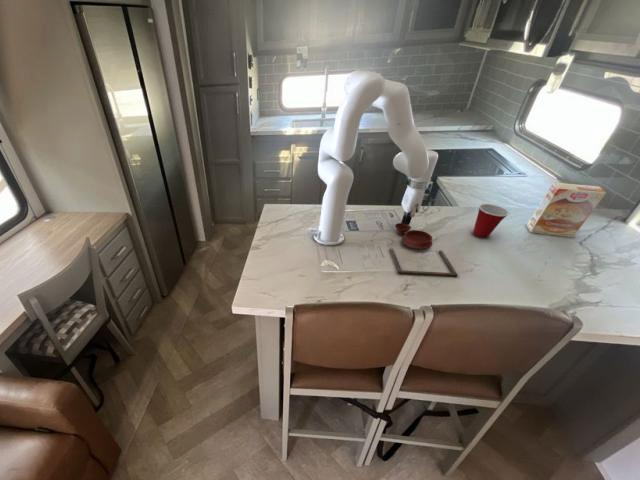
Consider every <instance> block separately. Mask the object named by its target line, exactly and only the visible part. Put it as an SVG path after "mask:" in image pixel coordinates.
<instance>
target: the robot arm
mask: <svg viewBox="0 0 640 480" xmlns="http://www.w3.org/2000/svg"><path fill="white" fill-rule="evenodd" d="M343 89H344V93H345V95H346V96H345V97H344V98H343V99H342V101H341V103H340V104H339V106H338V108H337V111H336V113H335V118H334V125H333V126H332V127H330V128H328V129H327V130H326V131H325V132H324V133H323V135H322V137H321V140H320V143H319V151H318V152H319V154H318V161H317V175H318V177H319V178H320V180H322V182H323V183H324V184H325V185H326V189H325V192H324V193H323V196H322V202H321V210H320V218H319V223H318V225H317V227H315V228H313V227H308V228H307V233H308V234H310V236H313V239H314V240H315V241H316V242H317V243H318V244H320V245H324V246H336V245H337V246H338V245H340V244H342V243H343V242H344V238H345V237H344V234H343V233H342V229H343V225H344V224H343V223H344V219H345V214H346V208H347V204H348V203H347V202H348V199H349V195H350V191H351V189H352V186H353V183H354V177H355V176H354V172H353V170H352V168H350V167H349V166H348V165H347V164H345V163H344V162H347V161H349V160H350V159H352V157H353V156H354V154H355V152H356V148H357V141H358V136H359V130H360V125H361V120H362V117H363V115H364V113H365V112H366V111H367V109H368V108H369V107H370V106H371V107H375V108H377V109H381V110H382V113H383V116H384V121H385V124H386V130H387V134H388V137H389V138H390V139H391V141H392V143H393V144H394V145H396V146H397V147H398V148H399V149H400V152H398V153H397V154H396V155H395V156H394V157H393V160H392V166H393V168H394V169H395V170H396V171H398V172H399V173H401V174H404V176H407V177H408V178H409V180H408V182H407V186H406V189H405V192H404V194H403V197H402V200H401V207H402V209H403V210H404V211H403V216H402V219H401V222H400V223H404V224H408V225H409V226H410V224H411V222H412V218H415V215H416V214H418V213H419V212H420V210H421V206H422V203H423V200H424V197H425V193H426V191H427V190H428V188H429V185H430V181H431V179H432V176H433V173H434V170H435V168H436V165H437V162H438V159H439V153H438V152H436V151H435V150H430V149H427V146H426V144H425V141H424V139H423V137H422V135H421V133H420V131H419V130H418V128H417V127H416V125H415V120H414V115H413V109H412V108H413V107H412V103H411V96H410V92H409V88H408V86H407V85H406V84H405V83H403V82H399V81H395V80H391V79H390V80H389V79H386V78H385V77H384V76H383V75H382V74H381V73H378V72H376V71H370V70H365V69H356V70H353V71H352V72H351V73H349V75H348V76H347V77H346V78H345V81H344V85H343Z"/></svg>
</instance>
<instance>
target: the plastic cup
mask: <svg viewBox="0 0 640 480" xmlns="http://www.w3.org/2000/svg"><path fill="white" fill-rule="evenodd" d="M509 215H510V212H509V210H507V209H506V208H504V207H502V206H499V205H495V204H491V203H481V204H480V205H478V212H477V216H476V219H475V223H474V226H473V230H472V235H474V237H477V238H479V239H481V238H482V239H487V238H488V237H489V236H490V235H491V234H492V233H493V231H494V230H495V229H496V228H497V227H498V226H499V224H500V223H501V222H502V221H503V220H504V219H505V218H506V217H508V216H509Z"/></svg>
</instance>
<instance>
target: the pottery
mask: <svg viewBox="0 0 640 480" xmlns="http://www.w3.org/2000/svg"><path fill="white" fill-rule="evenodd" d="M394 228H395V230H396V231H397V232H396V233H397V234H398V235H402V237H401V242H402V243H403V244H405V246H408V247H409V248H411V249H414V250H425V249H430V248H431V247H432V246H433V241H432V240H433V236H432V235H431V234H430V233H428V232H426V231H424V230H418V229H412V226H411V225H410V224H409V225H408V224H404V223H401V222H398V223H396V224H395V225H394Z"/></svg>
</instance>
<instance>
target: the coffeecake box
mask: <svg viewBox="0 0 640 480" xmlns="http://www.w3.org/2000/svg"><path fill="white" fill-rule="evenodd" d="M606 194H607V192H606V191H605V190H604V189H603V188H602V187H601V186H600V185H587V184H576V183H564V182H554V181H553V183H552V184H551V186H550V187H549V189H548V190H547V192H546V194H545V195H544V197H543V199H542V200H541V201H540V203H539V204H538V207H537V208H536V210H535V211H534V213H533V215H532V216H531V217H530V219H529V221H528V223H527V224H526V226H527V228H528V230H529V232H530V233H533V234H540V235H549V236H557V237H565V238H574V237H575V235H576V234H577V233H578V231H579V230H580V229H581V227H582V226H583V225H584V224H585V222H586V221H587V219H588V218H589V217H590V215H591V214H592V213H593V211H594V210H595V209H596V208H597V206H598V205H599V203H600V202H601V201H602V200H603V198H604V197H605V195H606Z"/></svg>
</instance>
